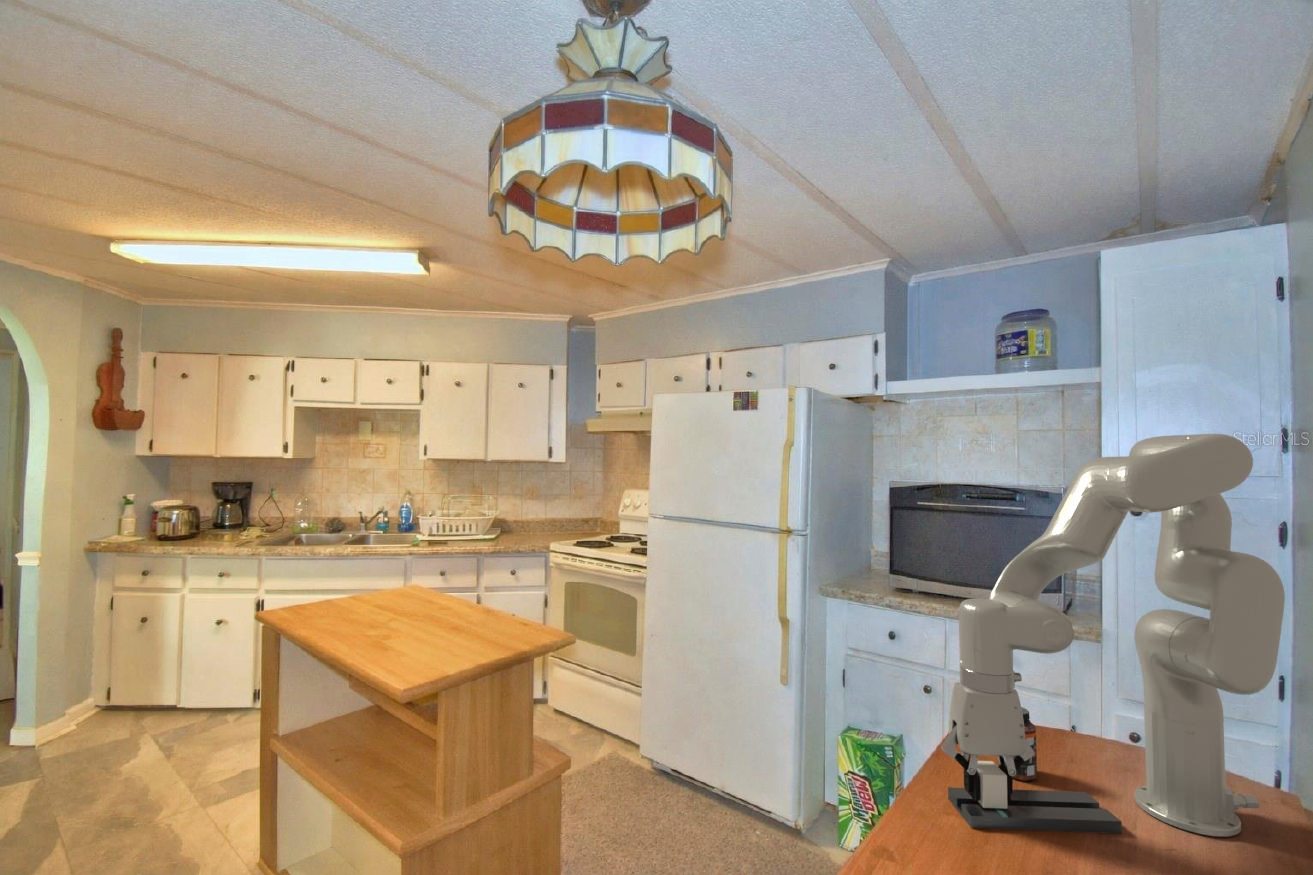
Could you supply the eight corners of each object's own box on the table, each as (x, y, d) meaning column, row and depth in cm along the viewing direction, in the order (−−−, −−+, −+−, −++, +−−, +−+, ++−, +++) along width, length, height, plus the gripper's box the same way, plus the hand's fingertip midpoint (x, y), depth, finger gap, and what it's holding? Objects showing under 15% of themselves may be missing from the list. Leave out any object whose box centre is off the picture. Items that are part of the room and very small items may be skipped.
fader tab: (992, 800, 96) (992, 761, 96) (1007, 816, 92) (1006, 775, 92) (970, 799, 96) (969, 760, 97) (983, 815, 92) (982, 774, 92)
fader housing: (1085, 803, 97) (1085, 791, 97) (1121, 833, 89) (1121, 820, 89) (948, 798, 98) (948, 786, 98) (971, 827, 90) (971, 815, 90)
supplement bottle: (1043, 784, 103) (1041, 717, 103) (1005, 780, 104) (1004, 714, 105) (1029, 767, 109) (1027, 703, 109) (993, 763, 110) (992, 701, 110)
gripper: (1026, 672, 98) (1029, 785, 97) (923, 669, 99) (924, 782, 98) (1054, 689, 91) (1057, 812, 90) (942, 686, 92) (944, 808, 91)
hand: (988, 795), depth 94 cm, fingers open, 4 cm apart
